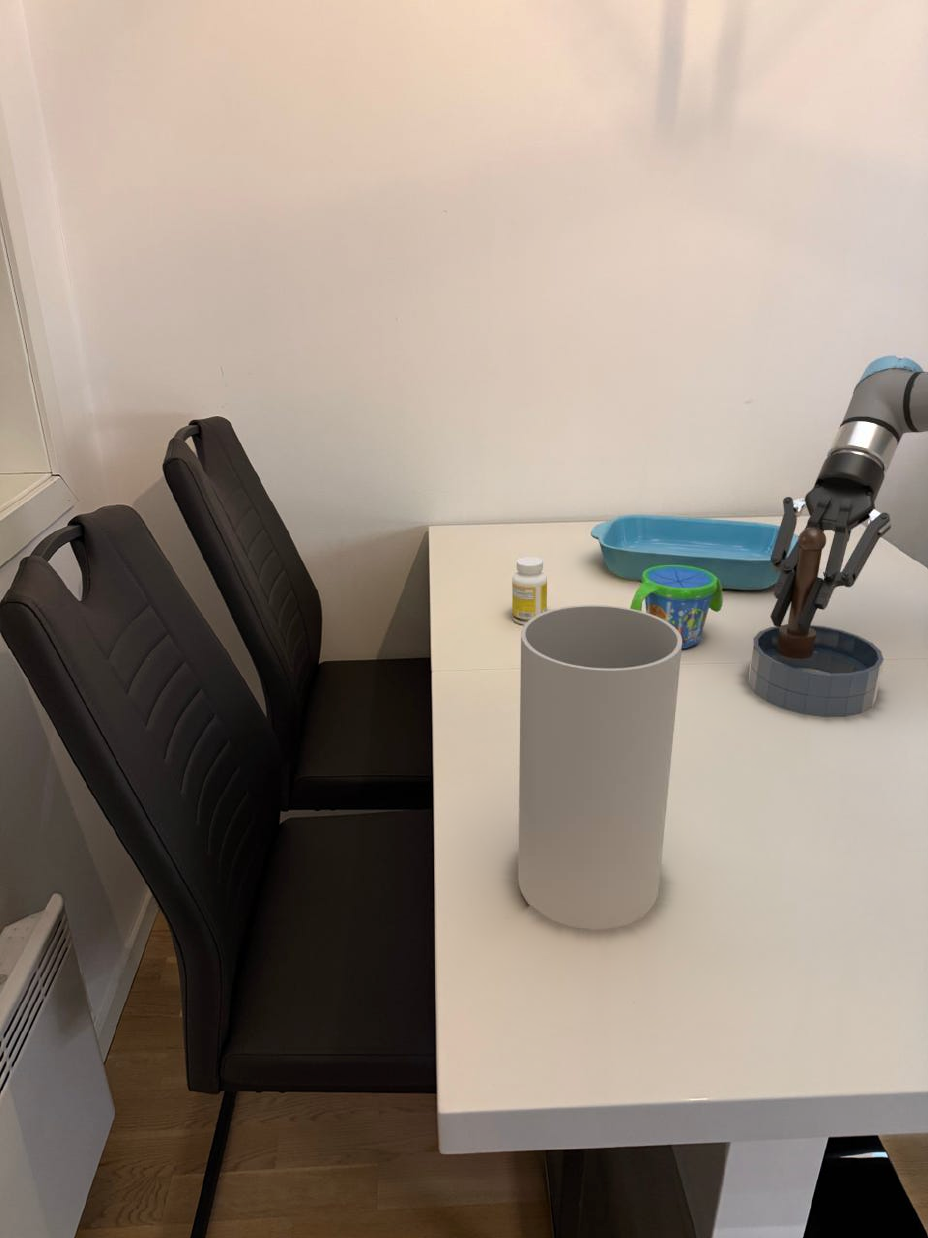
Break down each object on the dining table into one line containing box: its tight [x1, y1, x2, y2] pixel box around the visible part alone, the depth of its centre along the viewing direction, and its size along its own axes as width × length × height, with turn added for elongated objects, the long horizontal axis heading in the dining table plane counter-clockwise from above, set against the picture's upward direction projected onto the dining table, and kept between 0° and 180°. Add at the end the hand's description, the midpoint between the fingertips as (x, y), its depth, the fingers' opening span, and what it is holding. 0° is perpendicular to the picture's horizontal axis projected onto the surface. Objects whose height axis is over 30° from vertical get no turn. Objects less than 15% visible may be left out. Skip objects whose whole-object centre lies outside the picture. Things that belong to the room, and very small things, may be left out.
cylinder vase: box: [517, 604, 683, 931], centre depth 71 cm, size 12×12×25 cm
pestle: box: [777, 527, 827, 659], centre depth 105 cm, size 4×4×17 cm
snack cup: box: [629, 565, 724, 649], centre depth 122 cm, size 16×10×10 cm
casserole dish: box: [590, 514, 799, 591], centre depth 150 cm, size 37×22×7 cm, turn 71°
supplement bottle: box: [511, 556, 548, 626], centre depth 130 cm, size 5×5×10 cm
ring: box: [748, 624, 885, 718], centre depth 107 cm, size 15×15×6 cm
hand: (788, 624), depth 103 cm, fingers closed on pestle, 3 cm apart
